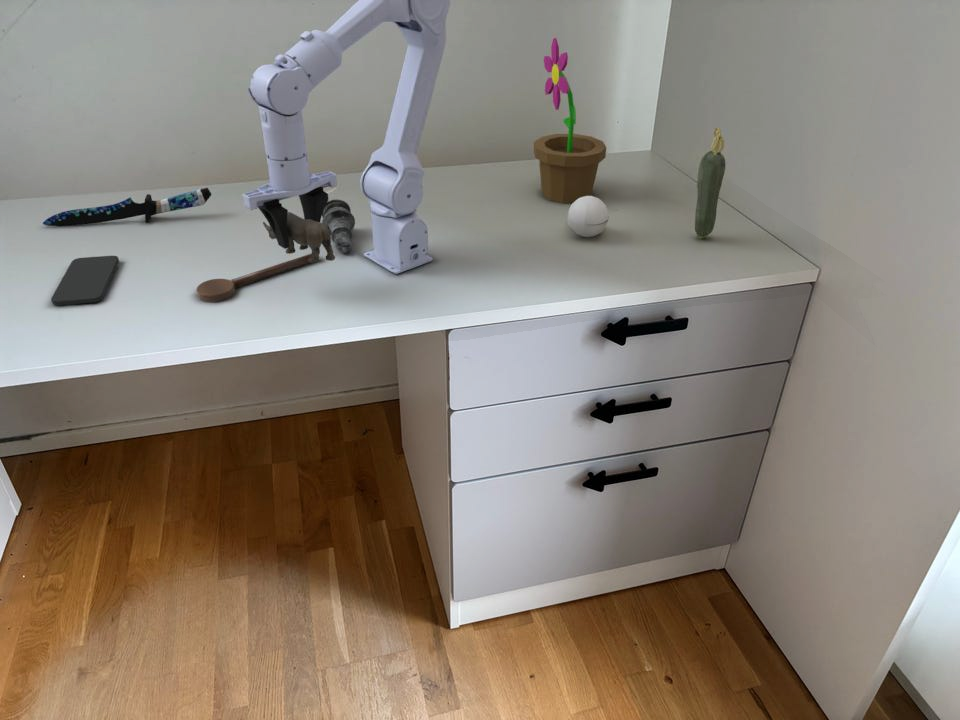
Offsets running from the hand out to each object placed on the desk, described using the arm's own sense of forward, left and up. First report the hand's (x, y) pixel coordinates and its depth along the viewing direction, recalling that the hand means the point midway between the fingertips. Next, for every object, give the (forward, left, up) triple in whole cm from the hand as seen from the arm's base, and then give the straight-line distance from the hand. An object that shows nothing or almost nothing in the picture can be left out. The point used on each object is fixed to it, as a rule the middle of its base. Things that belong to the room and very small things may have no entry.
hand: (298, 241), depth 117 cm
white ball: (-16, -51, -9) cm, 54 cm away
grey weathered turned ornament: (+16, -17, -5) cm, 24 cm away
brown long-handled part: (+8, +4, -8) cm, 12 cm away
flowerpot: (+1, -62, -9) cm, 62 cm away
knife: (+45, +11, -9) cm, 47 cm away
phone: (+25, +25, -8) cm, 36 cm away
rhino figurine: (0, 0, -2) cm, 2 cm away
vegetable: (-30, -64, -9) cm, 71 cm away
